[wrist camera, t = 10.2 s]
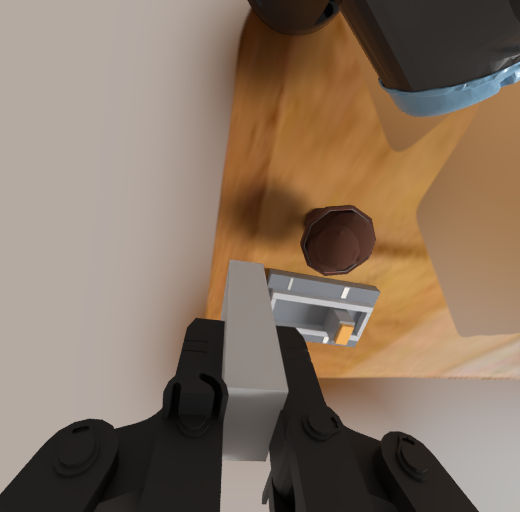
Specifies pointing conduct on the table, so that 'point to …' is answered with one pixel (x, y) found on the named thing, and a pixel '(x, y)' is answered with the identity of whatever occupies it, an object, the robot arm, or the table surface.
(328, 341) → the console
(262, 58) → the table surface
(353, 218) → the ice cream bowl
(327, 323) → the fader tab
